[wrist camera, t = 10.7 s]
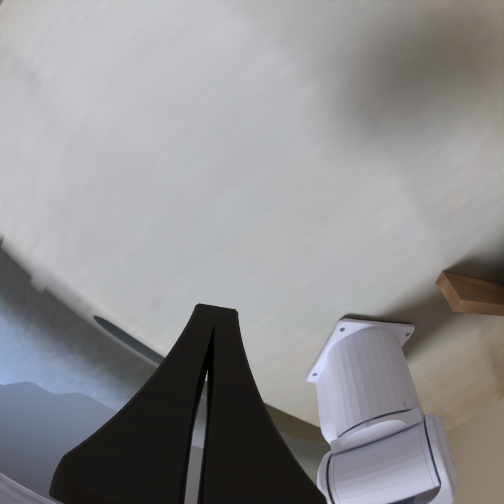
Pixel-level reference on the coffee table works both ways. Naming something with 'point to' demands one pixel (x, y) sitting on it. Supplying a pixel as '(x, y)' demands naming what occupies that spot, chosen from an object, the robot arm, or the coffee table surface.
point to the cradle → (472, 294)
